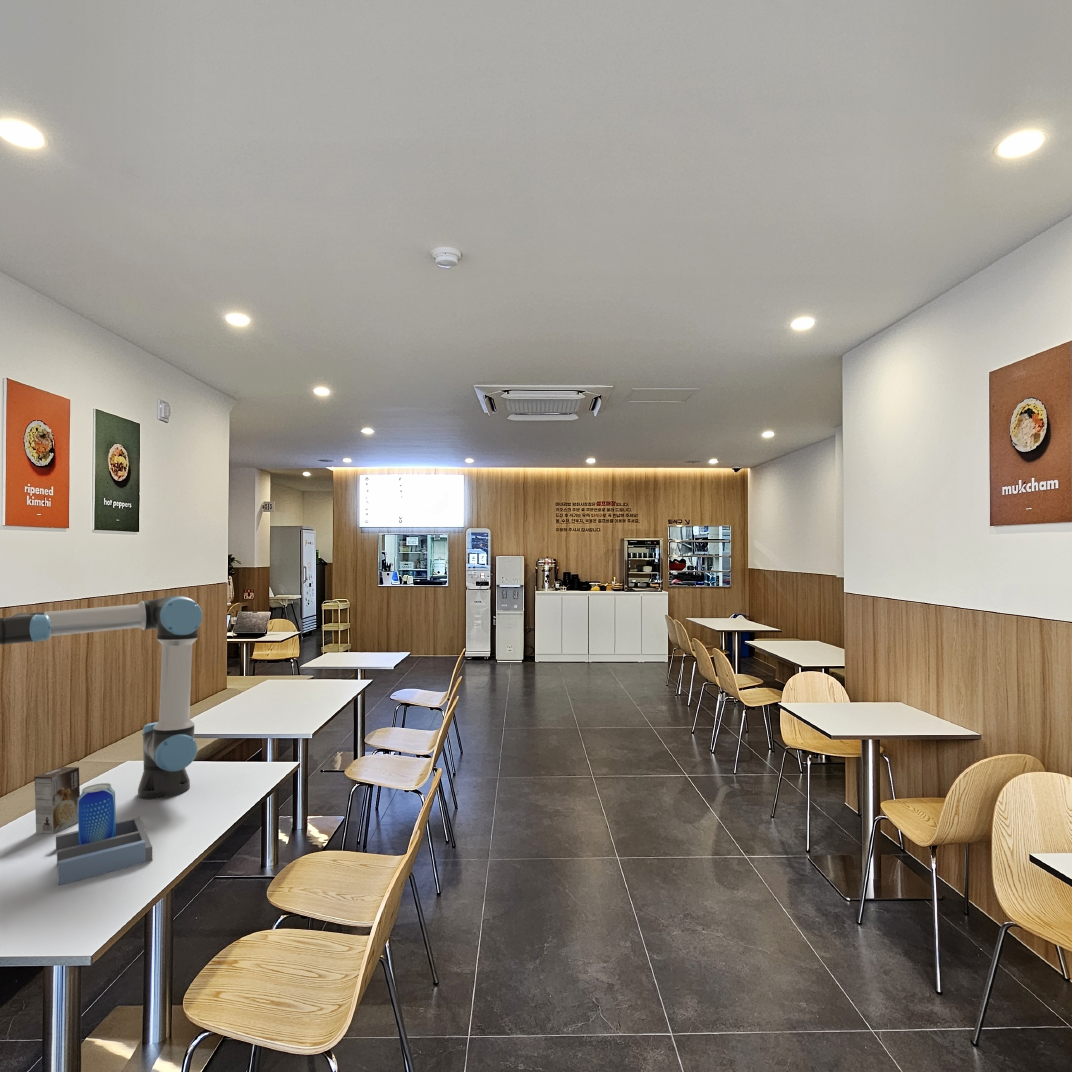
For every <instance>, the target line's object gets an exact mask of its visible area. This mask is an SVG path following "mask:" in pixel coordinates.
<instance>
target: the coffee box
mask: <svg viewBox="0 0 1072 1072" xmlns="http://www.w3.org/2000/svg"><path fill="white" fill-rule="evenodd" d="M33 778H34V800H35V801H34V805H35V806H34V807H35V809H34V810H35V833H37V834H38V833H39V834H56V833H58V832H60V831H62V830H65V829H66V828H68V827H70V826H72V825H74V824H75V825H76V824H78V798H79V796H80V795H81V791H80V789H81V788H80V766H77V767H76V766H61V767H58V768H55V769H52V770H49V771H46V772H44V773H41V774H38V775H35V776H34V777H33Z"/></svg>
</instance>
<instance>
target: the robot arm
mask: <svg viewBox="0 0 1072 1072" xmlns="http://www.w3.org/2000/svg"><path fill="white" fill-rule="evenodd" d="M202 621H203V611H202V608H201V607H200V605H199V604H198V603H197V602H196V601H195V600H193V599H191V598H190V597H187V596H181V595H180V596H177V595H170V596H163V597H159V598H156V599H155V598H154V599H147V600H141V601H140V602H138V603H136V604H125V605H111V606H102V607H101V606H100V607H90V608H89V607H88V608H76V609H75V608H74V609H63V610H50V611H43V612H39V611H38V612H29V613H28V612H19V613H16V614H13V615H12V616H10V617H0V646H5V645H11V644H21V643H22V644H24V643H32V642H33V643H37V642H42V641H43V642H44V641H47V640H49V639H50V638H51V637H52V636H53V637H55V636H65V635H66V636H67V635H75V634H76V635H77V634H85V633H96V632H107V631H116V630H127V629H136V628H137V629H138V628H139V629H141V630H142V631H145V630H146V631H148V630H156V640H157V642H159V643H160V644H161V663H160V666H161V667H160V686H159V687H160V688H159V690H160V691H159V710H158V712H159V713H158V714H159V715H158V716H159V717H158V721H155V722H150V723H147V724H145V725H144V726H143V728H142V733H141V735H142V744H143V745H142V746H143V747H142V751H143V755H142V756H143V759H142V760H143V772H142V775H141V778H140V781H139V784H138V788H137V797H138V798H140V799H143V800H156V799H163V798H170V797H173V796H177V795H179V794H182V793H184V792H186V791H188V790H189V789H190V787H191V781H190V778H189V774H188V772H187V770H186V768H187V767H189V765H191V764H192V763H193V762H194V761H195V758H196V757H197V754H198V745H197V742H196V740H195V722H193V721H192V720H191V719H190V717H191V716H190V715H191V714H190V713H191V711H190V710H191V689H192V686H191V685H192V666H193V665H192V663H193V662H192V661H193V644H194V643H195V642H196V641H197V640H198V638H199V627H200V626H201V624H202Z"/></svg>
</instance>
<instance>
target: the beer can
mask: <svg viewBox="0 0 1072 1072" xmlns="http://www.w3.org/2000/svg"><path fill="white" fill-rule="evenodd" d="M116 812H117V811H116V792H115V790H114V789H113V787H112V784H111V783H107V782H105V783H103V782H102V783H95V784H92V785H88V786H86V787H83V788H82V789H81V792H80V796H79V798H78V822H77V824H78V826H77V827H78V828H77V829H78V830H77V831H78V833H79V845H82V844H86V843H91V842H95V841H99V840H103V839H107V838H112V837H116V822H117V821H116V820H117V819H116V817H117V816H116V815H117V814H116Z"/></svg>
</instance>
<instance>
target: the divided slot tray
mask: <svg viewBox="0 0 1072 1072" xmlns="http://www.w3.org/2000/svg"><path fill="white" fill-rule="evenodd" d="M55 851H56V867H57V869H58V870H57V871H58V872H57V875H58V876H57V877H58V885H59V886H61V885H64V884H69V883H72V882H76V881H80V880H83V879H87V878H91V877H95V876H98V875H99V876H100V875H103V874H105V873H109V872H114V871H119V870H122V869H125V868H128V867H133V866H137V865H140V864H144V863H148V862H151V861H153V845H152V843H151V841H150V838H149V836H148V833H147V831H146V828H145V826H144V824H143V822H142V818H141V817H140V816H136V817H131V818H127V819H123V820H118V821H116V837H112V838H107V839H103V840H99V841H95V842H91V843H86V844H82V845H79V833H78V830H75V831H70V832H66V833H61V834H57V835H55Z"/></svg>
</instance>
